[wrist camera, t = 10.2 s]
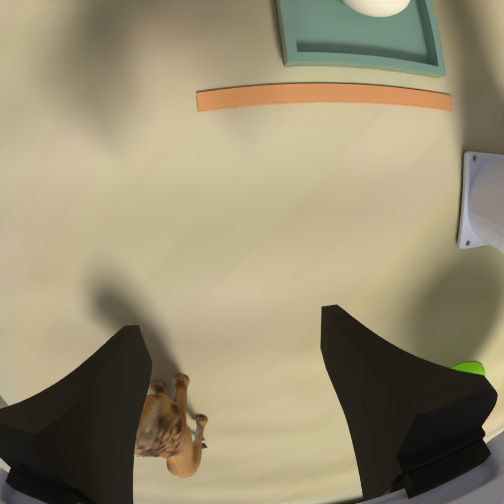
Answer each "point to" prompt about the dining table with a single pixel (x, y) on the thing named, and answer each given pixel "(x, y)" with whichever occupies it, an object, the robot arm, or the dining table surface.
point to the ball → (377, 7)
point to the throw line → (320, 96)
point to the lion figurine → (170, 430)
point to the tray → (360, 37)
